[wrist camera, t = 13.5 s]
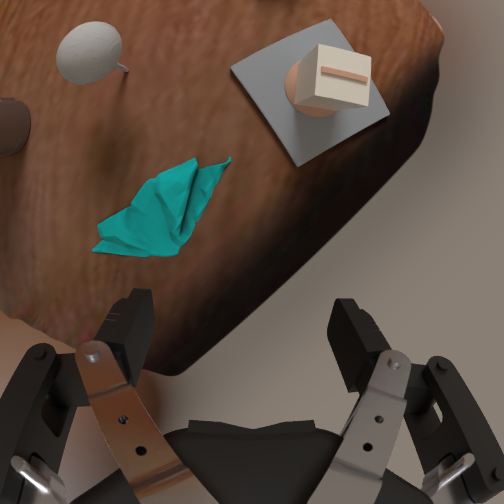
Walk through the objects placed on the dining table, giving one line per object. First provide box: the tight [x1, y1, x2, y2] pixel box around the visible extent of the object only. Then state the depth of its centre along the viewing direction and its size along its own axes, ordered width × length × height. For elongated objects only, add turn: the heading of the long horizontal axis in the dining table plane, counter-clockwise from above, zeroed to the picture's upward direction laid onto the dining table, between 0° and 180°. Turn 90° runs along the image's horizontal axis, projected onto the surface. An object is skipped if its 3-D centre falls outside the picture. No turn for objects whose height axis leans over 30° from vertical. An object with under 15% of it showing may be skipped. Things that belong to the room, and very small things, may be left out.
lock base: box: [230, 19, 390, 167], centre depth 30 cm, size 16×16×6 cm
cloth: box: [92, 156, 231, 257], centre depth 38 cm, size 26×14×2 cm, turn 108°
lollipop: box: [56, 22, 129, 85], centre depth 23 cm, size 7×7×15 cm
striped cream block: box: [294, 44, 371, 111], centre depth 27 cm, size 6×6×10 cm
